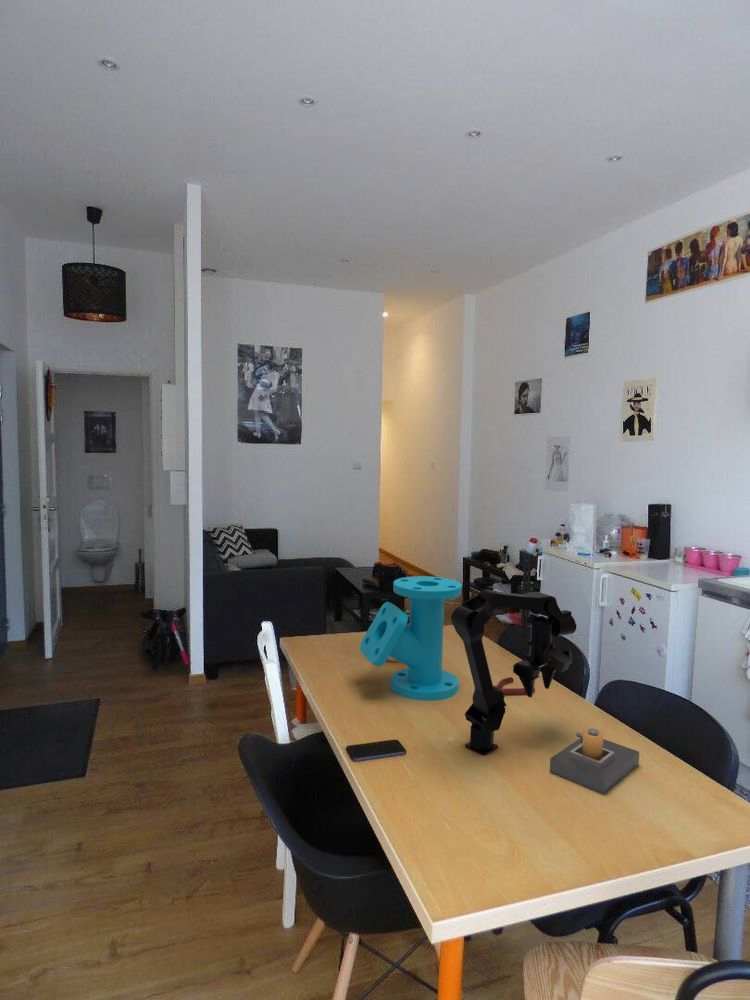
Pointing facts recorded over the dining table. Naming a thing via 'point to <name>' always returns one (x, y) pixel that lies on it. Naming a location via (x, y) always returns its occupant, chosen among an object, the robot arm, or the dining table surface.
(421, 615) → the pipe fitting
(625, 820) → the dining table surface
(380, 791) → the dining table surface
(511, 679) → the pliers
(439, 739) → the dining table surface
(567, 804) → the dining table surface
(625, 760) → the sink basin plate
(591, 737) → the cylinder
